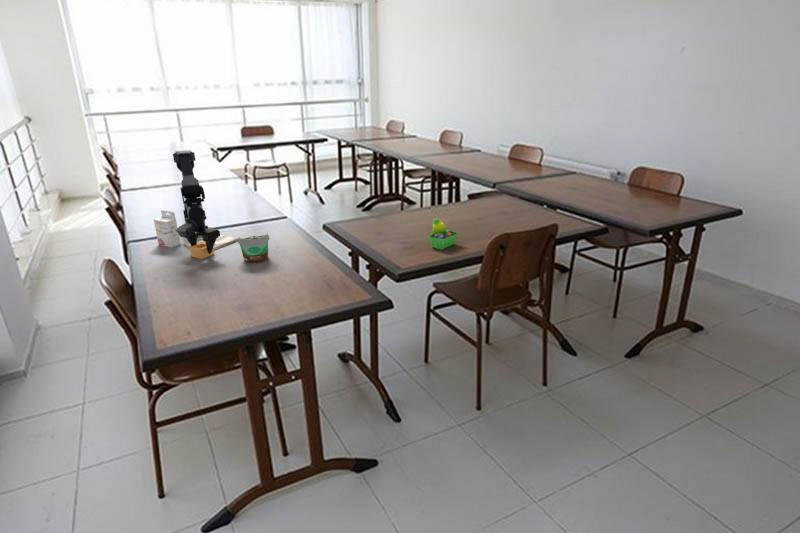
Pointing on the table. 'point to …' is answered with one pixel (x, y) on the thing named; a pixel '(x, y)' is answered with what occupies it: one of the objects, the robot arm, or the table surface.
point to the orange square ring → (200, 251)
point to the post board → (217, 241)
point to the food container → (254, 248)
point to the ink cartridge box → (167, 229)
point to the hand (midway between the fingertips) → (202, 251)
